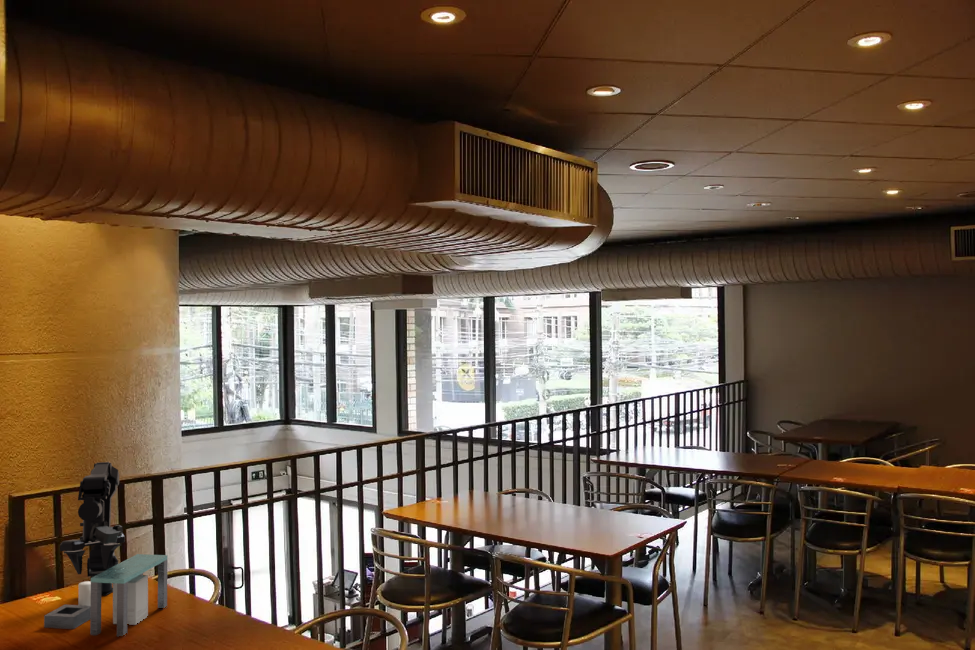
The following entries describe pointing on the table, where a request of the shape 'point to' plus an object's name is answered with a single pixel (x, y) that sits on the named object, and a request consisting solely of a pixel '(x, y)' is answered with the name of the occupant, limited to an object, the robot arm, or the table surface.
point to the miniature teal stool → (126, 588)
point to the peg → (84, 593)
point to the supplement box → (134, 600)
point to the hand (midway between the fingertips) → (92, 571)
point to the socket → (67, 617)
